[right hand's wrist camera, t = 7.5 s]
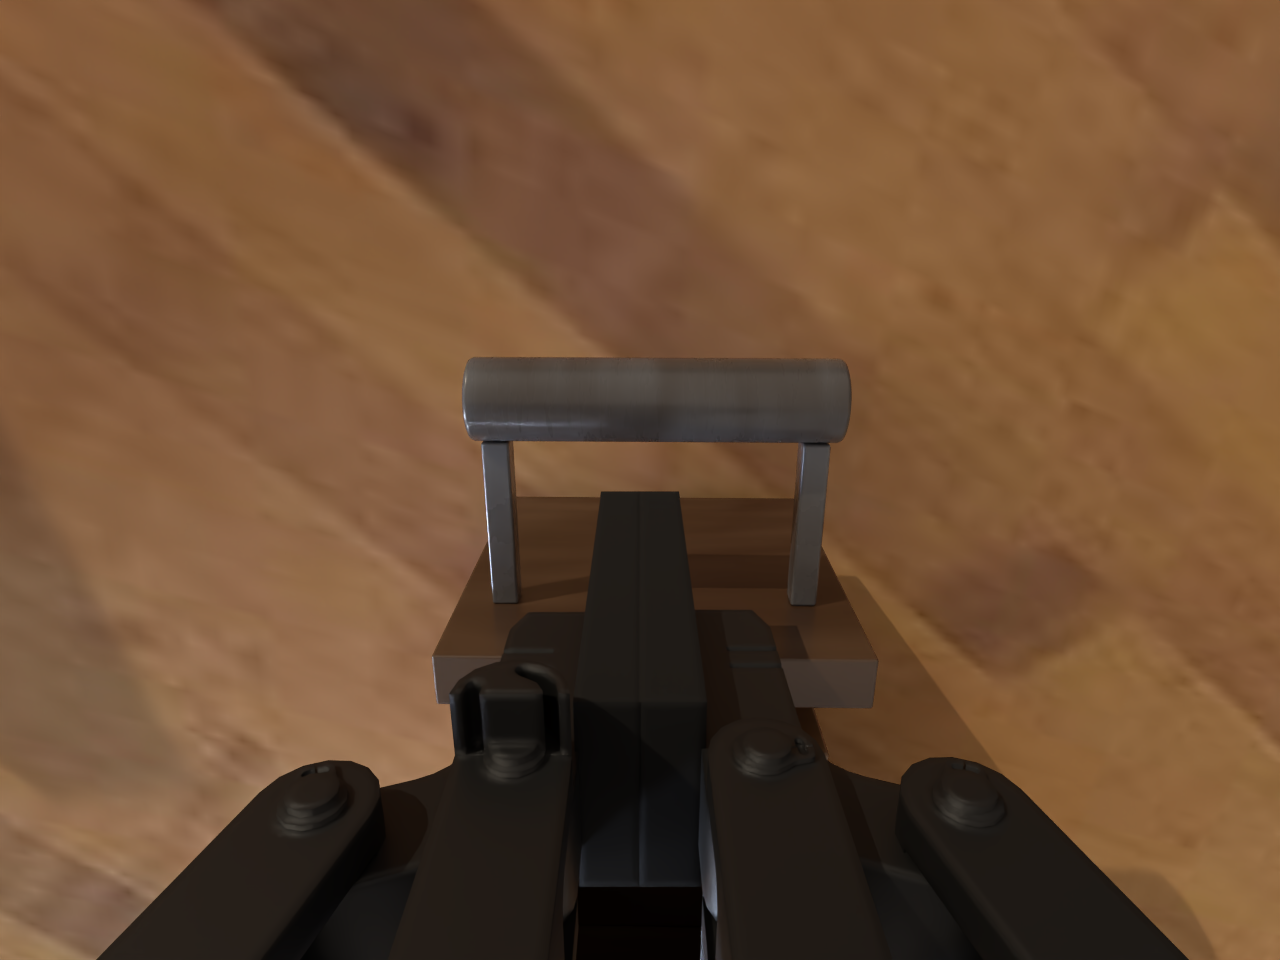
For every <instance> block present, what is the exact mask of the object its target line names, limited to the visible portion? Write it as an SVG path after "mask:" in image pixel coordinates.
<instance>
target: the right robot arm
mask: <svg viewBox="0 0 1280 960" xmlns="http://www.w3.org/2000/svg"><path fill="white" fill-rule="evenodd" d="M449 700H450V710H451V720H452V729H453V739H454V749H455V757H454V760H453V763H452V764H451V765H450V766H448V767H446V768H444V769H442V770H440V771H438V772H436V773H434V774H431V775H428V776H425V777H422V778H419V779H416V780H412V781H407V782H403V783H399V784H395V785H390V786H386V787H382V788H380V785H379V780H378V779H377V777H376V776H375V775H374V774H373V773H372V771H371V770H370V769H369V768H368V767H365V766H363V765H360V764H357V763H355V762H352V761H333V760H328V761H323V762H319V763H314V764H310V765H305V766H302V767H300V768H298V769H296V770H294V771H291V772H289V773H287V774H285V775H283V776H281V777H279V778H278V779H276V780H275V781H274V782H272V783H271V784H270V785H269V786H267V787H266V788H265V789H263V790H262V791H261V792H260V793H259V794H258V795H257V796H256V797H255V798H254V799H253V800H252V801H251V802H250V803H249V804H248V805H247V806H246V807H245V808H244V809H243V810H242V811H241V812H240V813H239V814H238V815H237V816H236V817H235V818H234V819H233V820H232V821H231V822H230V823H229V824H228V825H227V826H226V827H225V828H224V829H223V830H222V832H221V833H220V834H219V835H218V836H217V837H216V838H215V839H214V840H213V841H212V842H211V843H210V844H209V845H208V846H207V847H206V848H205V849H204V850H203V851H202V852H201V853H200V854H199V855H198V856H197V857H196V858H195V859H194V860H193V861H192V862H191V863H190V864H189V865H188V866H187V867H186V868H185V869H184V870H183V871H182V872H181V873H180V875H179V876H178V877H177V878H176V879H175V880H174V881H173V882H172V883H171V884H170V885H169V886H168V887H167V888H166V889H165V890H164V891H163V892H162V893H161V894H160V895H159V896H158V897H157V898H156V899H155V900H154V901H153V902H152V903H151V904H150V905H149V906H148V907H147V908H146V909H145V910H144V911H143V912H142V913H141V914H140V915H139V916H138V918H137V919H136V920H135V921H134V922H133V923H132V924H131V925H130V926H129V927H128V928H127V929H126V930H125V931H124V932H123V933H122V934H121V935H120V936H119V937H118V938H117V939H116V940H115V941H114V942H113V943H112V944H111V945H110V946H109V947H108V948H107V949H106V950H105V951H104V952H103V953H102V954H101V955H100V956H99V957H98V958H97V959H96V960H576V952H577V940H578V928H579V926H578V900H577V893H578V882H579V886H580V887H700V886H701V879H702V890H703V900H702V926H701V953H700V960H1189V959H1188V958H1187V957H1186V956H1185V955H1184V954H1183V953H1182V952H1181V951H1180V950H1179V949H1178V948H1177V947H1176V946H1175V945H1174V944H1173V943H1172V942H1171V941H1170V940H1169V939H1168V938H1167V937H1166V936H1165V935H1164V934H1163V933H1162V932H1161V931H1160V930H1159V929H1158V928H1157V927H1156V926H1155V925H1154V924H1153V923H1152V922H1151V921H1150V920H1149V919H1148V918H1147V917H1146V916H1145V915H1144V914H1143V913H1142V912H1141V911H1140V910H1139V909H1138V908H1137V907H1136V905H1135V904H1134V903H1133V902H1132V901H1131V900H1130V899H1129V898H1128V897H1127V896H1126V895H1125V894H1124V893H1123V892H1122V891H1121V890H1120V889H1119V888H1118V887H1117V886H1116V885H1115V884H1114V883H1113V882H1112V881H1111V880H1110V879H1109V878H1108V877H1107V876H1106V875H1105V874H1104V873H1103V872H1102V871H1101V870H1100V869H1099V868H1098V867H1097V866H1096V865H1095V864H1094V863H1093V862H1092V861H1091V860H1090V859H1089V858H1088V857H1087V856H1086V855H1085V854H1084V853H1083V852H1082V851H1081V850H1080V849H1079V848H1078V847H1077V845H1076V844H1075V843H1074V842H1073V841H1072V840H1071V839H1070V838H1069V837H1068V836H1067V835H1066V834H1065V833H1064V832H1063V831H1062V830H1061V829H1060V828H1059V827H1058V826H1057V825H1056V824H1055V823H1054V822H1053V821H1052V820H1051V819H1050V818H1049V817H1048V816H1047V815H1046V814H1045V813H1044V812H1043V811H1042V810H1041V809H1040V808H1039V807H1038V806H1037V805H1036V804H1035V803H1034V802H1033V801H1032V800H1031V799H1030V798H1029V797H1028V796H1027V795H1026V794H1025V793H1024V792H1023V791H1022V790H1021V789H1020V788H1019V787H1018V786H1016V785H1015V784H1014V783H1012V782H1011V781H1010V780H1009V779H1007V778H1006V777H1005V776H1003V775H1002V774H1001V773H998V772H996V771H994V770H992V769H990V768H988V767H985V766H983V765H981V764H979V763H976V762H972V761H967V760H963V759H958V758H954V757H941V758H928V759H925V760H923V761H920V762H917V763H915V764H912V765H911V766H910V768H909V769H908V770H907V771H906V772H905V773H904V775H903V776H902V779H901V785H899V784H894V783H890V782H886V781H881V780H877V779H873V778H869V777H865V776H861V775H858V774H855V773H852V772H849V771H846V770H844V769H842V768H840V767H838V766H836V765H834V764H832V763H830V762H829V761H828V760H827V759H826V756H825V754H824V752H823V751H822V749H821V747H820V746H819V744H818V743H817V741H816V740H815V739H814V738H813V737H811V736H810V735H809V734H807V733H806V732H805V731H803V730H802V729H801V725H800V722H799V719H798V716H797V712H796V709H795V706H794V703H793V699H792V696H791V693H790V690H789V686H788V683H787V680H786V677H785V673H784V670H783V668H782V666H781V660H780V657H779V654H778V651H776V644H775V641H774V638H773V634H772V631H771V628H770V626H769V625H768V624H767V623H765V622H764V621H763V620H762V619H761V618H760V617H759V616H758V615H757V614H756V613H755V612H754V611H753V610H695V608H694V601H693V593H692V586H691V578H690V571H689V564H688V556H687V549H686V541H685V534H684V526H683V519H682V512H681V504H680V497H679V492H601V497H600V504H599V512H598V519H597V526H596V534H595V541H594V549H593V556H592V564H591V571H590V578H589V586H588V593H587V601H586V608H585V612H528V613H527V614H526V615H525V616H524V617H523V618H521V619H520V620H519V621H518V622H517V623H516V624H515V625H514V626H513V627H512V628H511V629H510V631H509V634H508V637H507V641H506V644H505V647H504V653H503V654H502V657H501V660H500V662H495V663H492V664H489V665H486V666H483V667H480V668H477V669H475V670H473V671H472V672H470V673H469V674H467V675H466V676H464V677H463V678H461V679H460V680H458V682H457V683H456V684H455V686H454V687H453V689H452V690H451V692H450V693H449Z"/></svg>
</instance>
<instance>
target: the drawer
mask: <svg viewBox="0 0 1280 960" xmlns="http://www.w3.org/2000/svg"><path fill="white" fill-rule="evenodd" d="M851 401H852V392H851V380H850V374H849V370H848V367H847V364H846V363H845V361H843V360H841V359H781V358H565V357H473V358H471V359H469V360H468V362H467V364H466V367H465V371H464V376H463V384H462V408H463V417H464V423H465V427H466V430H467V433H468V435H469V437H470V438H471V439H472V440H475V441H483V442H482V444H481V448H482V462H483V476H484V489H485V503H486V517H487V530H488V542H487V544H486V546H485V548H484V550H483V552H482V554H481V556H480V558H479V560H478V562H477V564H476V566H475V568H474V570H473V573H472V575H471V577H470V579H469V581H468V583H467V585H466V587H465V589H464V591H463V593H462V595H461V597H460V599H459V602H458V604H457V606H456V608H455V610H454V612H453V614H452V616H451V618H450V620H449V622H448V624H447V626H446V628H445V631H444V633H443V635H442V637H441V639H440V641H439V643H438V645H437V647H436V649H435V651H434V653H433V655H432V662H433V672H434V681H435V690H436V700H437V703H438V704H450V700H449V693H450V692H451V690H452V689H453V687H454V686H455V684H456V683H457V682H458V680H460V679H461V678H463V677H464V676H466V675H467V674H469V673H470V672H472V671H473V670H475V669H477V668H480V667H483V666H486V665H489V664H492V663H495V662H500V660H501V657H502V654H503V653H504V647H505V644H506V641H507V637H508V634H509V631H510V629H511V628H512V627H513V626H514V625H515V624H516V623H517V622H518V621H519V620H520V619H521V618H523V617H524V616H525V615H526V614H527V613H528V612H585V608H586V601H587V593H588V586H589V578H590V571H591V564H592V556H593V549H594V541H595V534H596V526H597V519H598V512H599V504H600V497H516V484H515V467H514V450H513V441H594V442H762V443H798V456H797V469H796V482H795V495H794V499H751V498H680V504H681V512H682V519H683V526H684V534H685V541H686V549H687V556H688V564H689V571H690V578H691V586H692V593H693V601H694V608H695V610H753V611H754V612H755V613H756V614H757V615H758V616H759V617H760V618H761V619H762V620H763V621H764V622H765V623H767V624H768V625H769V626H770V628H771V631H772V634H773V638H774V641H775V644H776V651H778V654H779V657H780V660H781V666H782V668H783V670H784V673H785V677H786V680H787V683H788V686H789V690H790V693H791V696H792V699H793V703H794V706H795V709H796V712H797V716H798V719H799V722H800V725H801V729H802V730H803V731H805V732H806V733H807V734H809V735H810V736H811V737H813V738H814V739H815V740H816V741H817V743H818V744H819V746H820V747H821V749H822V751H823V752H824V754H825V756H826V759H827V760H828V756H829V754H828V751H827V748H826V745H825V742H824V739H823V736H822V732H821V729H820V726H819V723H818V720H817V717H816V714H815V711H814V708H872V707H873V700H874V692H875V684H876V676H877V668H878V659H877V657H876V655H875V653H874V651H873V649H872V647H871V645H870V643H869V641H868V639H867V637H866V635H865V633H864V631H863V629H862V627H861V625H860V623H859V621H858V619H857V617H856V615H855V612H854V610H853V608H852V606H851V604H850V602H849V600H848V598H847V596H846V594H845V592H844V590H843V588H842V586H841V584H840V582H839V580H838V578H837V576H836V574H835V572H834V570H833V568H832V566H831V564H830V562H829V560H828V558H827V556H826V554H825V552H824V550H823V548H822V546H821V545H822V534H823V524H824V513H825V502H826V491H827V481H828V470H829V459H830V448H831V447H830V445H829V443H838V442H840V441H842V440H843V438H844V437H845V434H846V432H847V429H848V425H849V420H850V414H851ZM577 900H578V926H579V928H578V940H577V952H576V960H700V953H701V926H702V900H703V890H702V879H701V886H700V887H580V886H579V882H578V893H577Z"/></svg>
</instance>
